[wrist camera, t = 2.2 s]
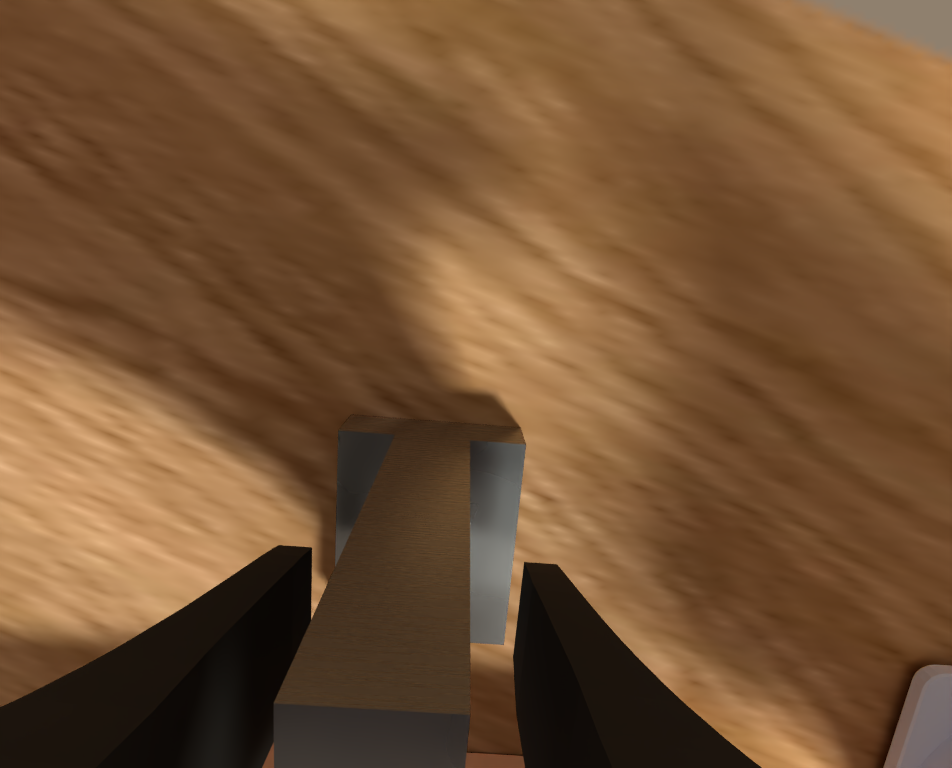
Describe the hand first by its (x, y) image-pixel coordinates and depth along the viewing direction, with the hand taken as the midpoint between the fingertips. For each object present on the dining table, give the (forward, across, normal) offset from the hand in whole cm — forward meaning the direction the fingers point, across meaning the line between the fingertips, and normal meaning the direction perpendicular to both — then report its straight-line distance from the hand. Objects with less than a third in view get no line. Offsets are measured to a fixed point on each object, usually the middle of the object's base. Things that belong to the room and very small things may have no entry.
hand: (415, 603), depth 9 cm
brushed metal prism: (+3, 0, 0) cm, 3 cm away
